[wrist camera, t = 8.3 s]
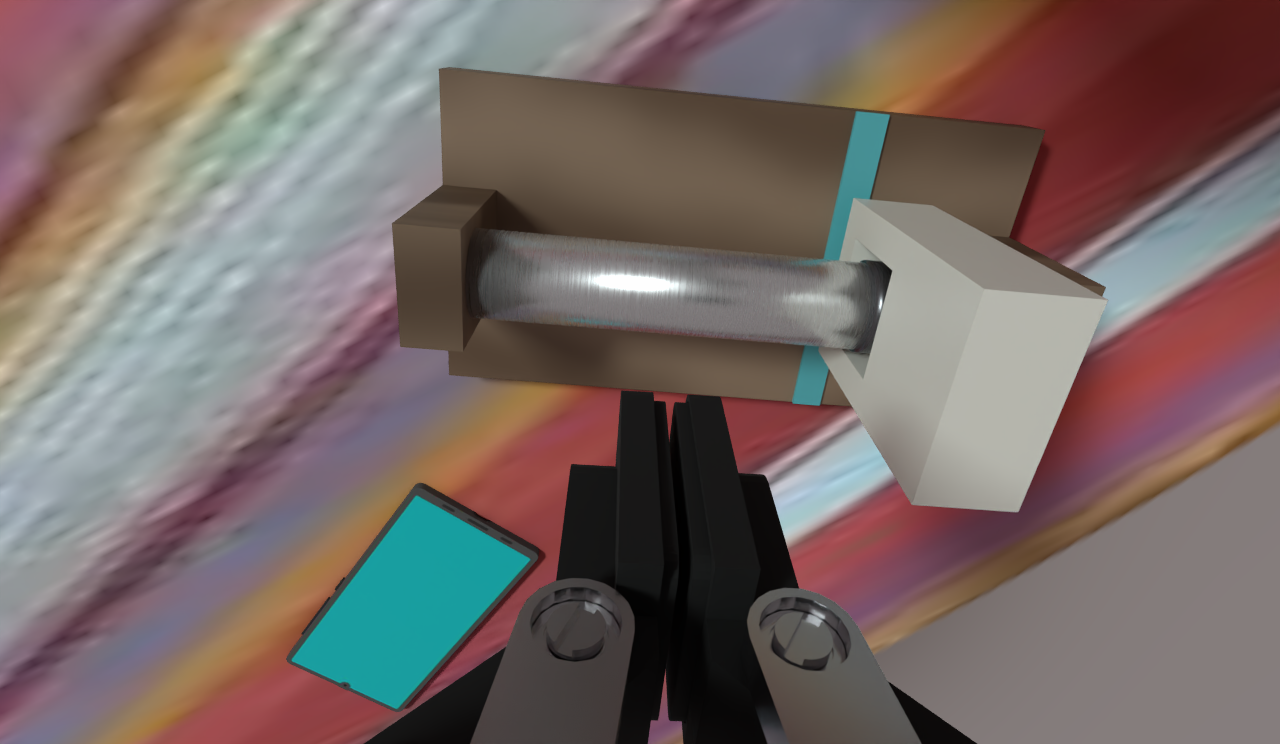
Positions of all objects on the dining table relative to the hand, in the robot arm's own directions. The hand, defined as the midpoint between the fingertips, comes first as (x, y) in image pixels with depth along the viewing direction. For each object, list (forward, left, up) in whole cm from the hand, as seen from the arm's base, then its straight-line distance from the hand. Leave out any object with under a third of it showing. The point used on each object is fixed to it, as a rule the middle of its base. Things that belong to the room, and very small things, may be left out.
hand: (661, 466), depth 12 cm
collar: (+1, +9, -15) cm, 18 cm away
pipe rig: (+1, +3, -18) cm, 18 cm away
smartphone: (+22, -11, -18) cm, 31 cm away
